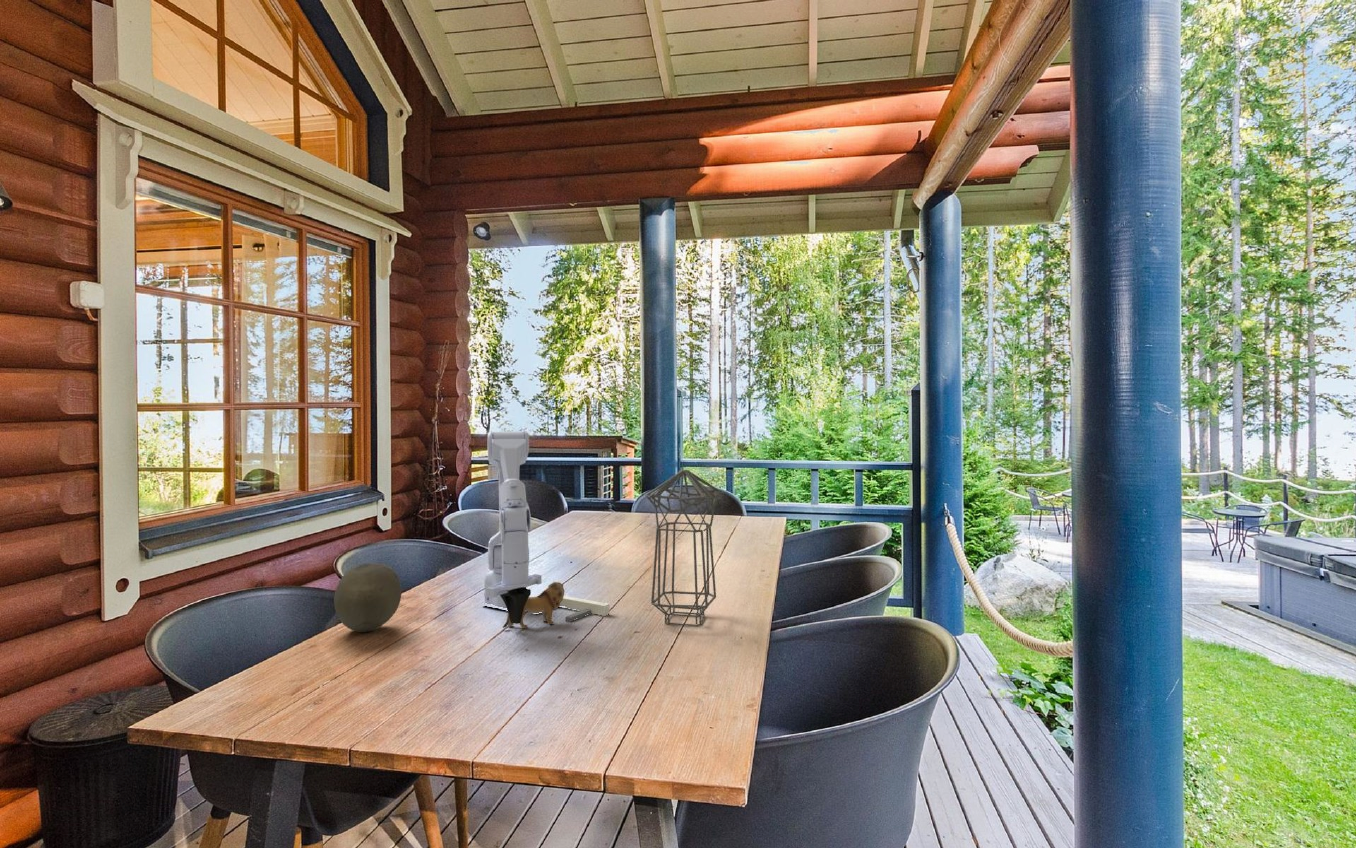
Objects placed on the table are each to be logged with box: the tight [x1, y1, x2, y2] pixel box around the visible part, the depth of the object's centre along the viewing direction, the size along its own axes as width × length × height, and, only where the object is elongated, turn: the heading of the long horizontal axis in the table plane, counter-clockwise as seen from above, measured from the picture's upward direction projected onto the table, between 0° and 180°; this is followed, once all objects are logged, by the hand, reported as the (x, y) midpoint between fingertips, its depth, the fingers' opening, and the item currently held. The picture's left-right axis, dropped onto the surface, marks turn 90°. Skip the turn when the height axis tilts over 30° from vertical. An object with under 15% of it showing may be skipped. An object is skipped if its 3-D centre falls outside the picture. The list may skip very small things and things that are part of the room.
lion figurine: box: [502, 581, 565, 629], centre depth 152 cm, size 15×5×9 cm, turn 123°
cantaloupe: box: [333, 562, 403, 633], centre depth 148 cm, size 14×14×15 cm
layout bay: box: [560, 595, 611, 622], centre depth 161 cm, size 20×10×2 cm, turn 58°
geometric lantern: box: [645, 469, 722, 627], centre depth 155 cm, size 16×16×35 cm
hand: (515, 622), depth 147 cm, fingers closed
